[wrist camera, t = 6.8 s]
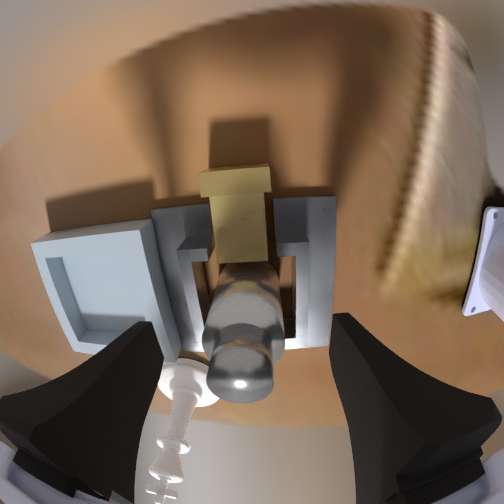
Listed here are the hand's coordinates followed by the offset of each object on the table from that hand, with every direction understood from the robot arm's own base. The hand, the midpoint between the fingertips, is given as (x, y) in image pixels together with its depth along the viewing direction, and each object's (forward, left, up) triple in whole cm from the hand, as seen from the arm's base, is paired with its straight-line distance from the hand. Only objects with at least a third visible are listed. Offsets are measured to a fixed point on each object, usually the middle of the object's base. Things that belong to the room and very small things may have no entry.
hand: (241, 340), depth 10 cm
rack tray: (+8, 0, -5) cm, 10 cm away
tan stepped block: (0, -4, -5) cm, 6 cm away
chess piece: (+5, +8, -5) cm, 11 cm away
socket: (0, 0, -5) cm, 5 cm away
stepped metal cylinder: (0, 0, -5) cm, 5 cm away
